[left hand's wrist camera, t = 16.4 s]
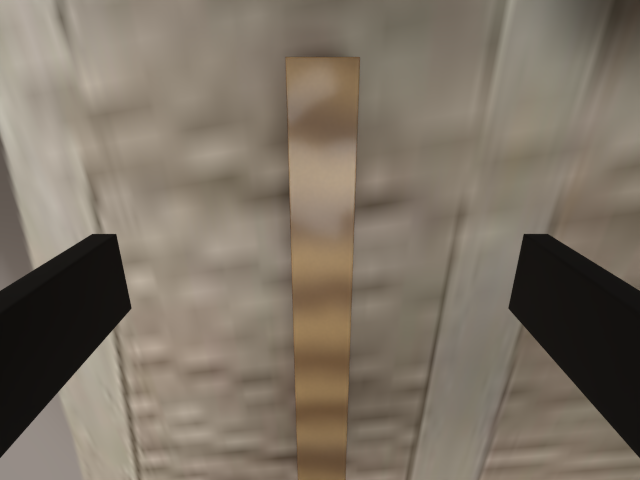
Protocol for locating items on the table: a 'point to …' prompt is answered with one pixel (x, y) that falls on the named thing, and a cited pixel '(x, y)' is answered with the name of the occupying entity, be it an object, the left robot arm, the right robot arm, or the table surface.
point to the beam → (322, 252)
